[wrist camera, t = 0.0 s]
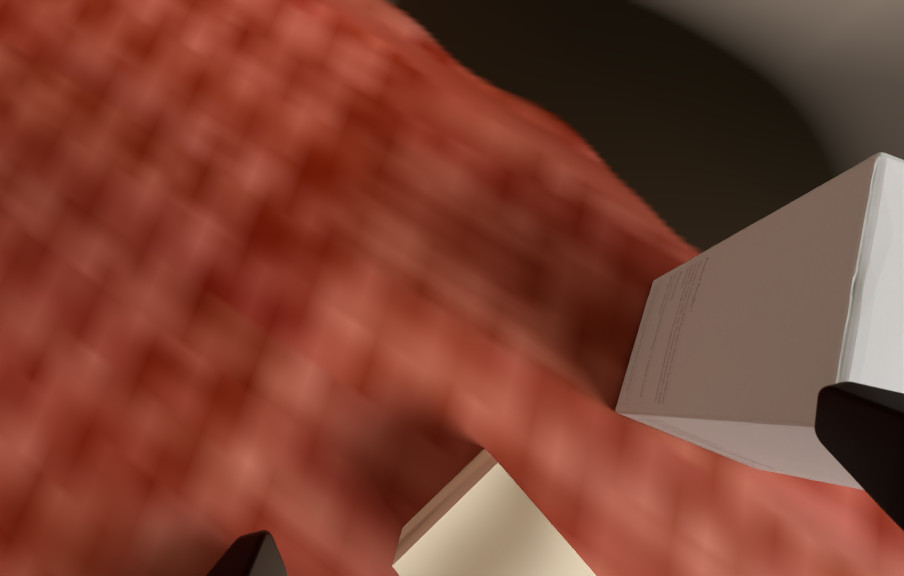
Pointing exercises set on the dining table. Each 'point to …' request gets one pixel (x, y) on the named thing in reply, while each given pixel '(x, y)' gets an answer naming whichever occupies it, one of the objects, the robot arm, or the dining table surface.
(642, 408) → the supplement box
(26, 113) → the dining table surface
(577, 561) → the birch cube
